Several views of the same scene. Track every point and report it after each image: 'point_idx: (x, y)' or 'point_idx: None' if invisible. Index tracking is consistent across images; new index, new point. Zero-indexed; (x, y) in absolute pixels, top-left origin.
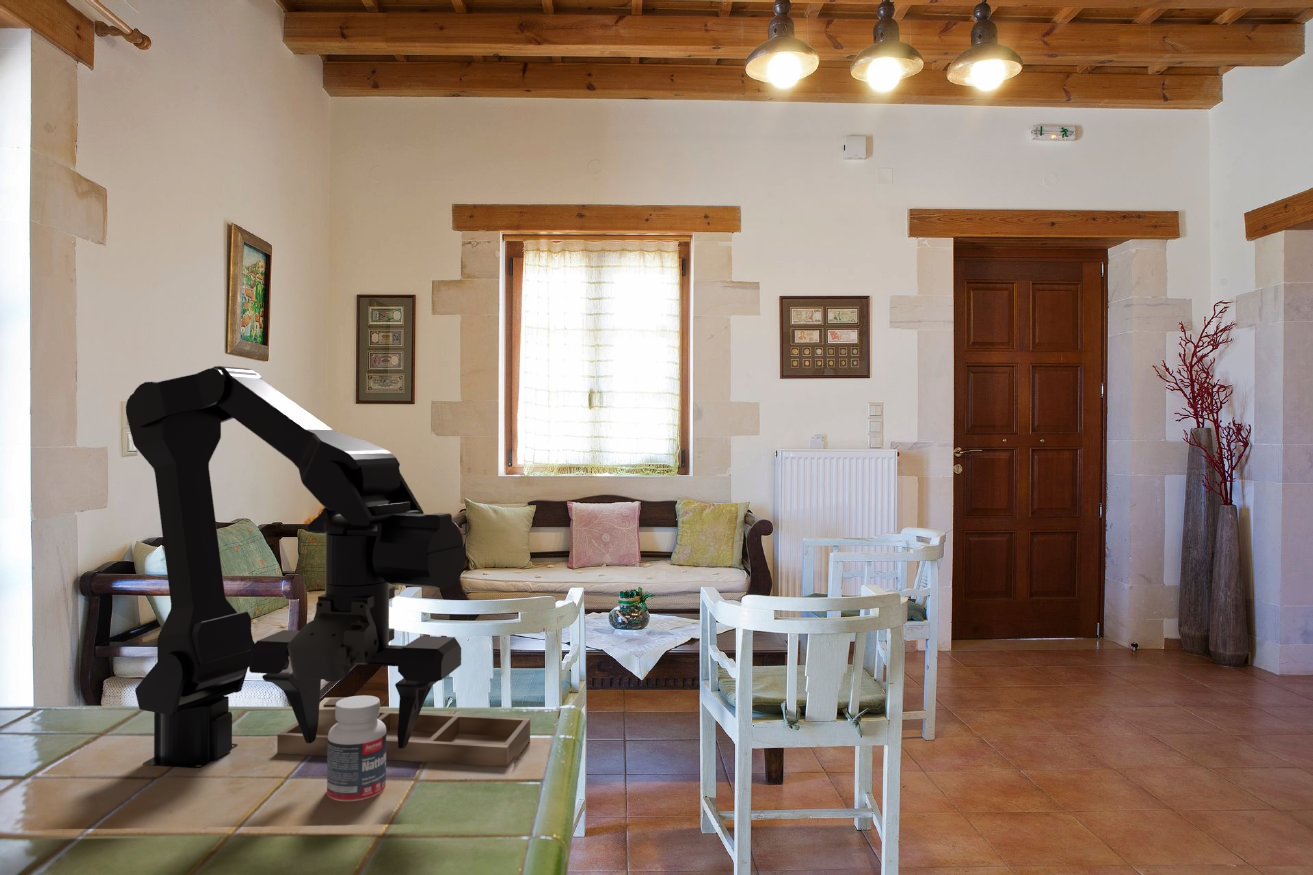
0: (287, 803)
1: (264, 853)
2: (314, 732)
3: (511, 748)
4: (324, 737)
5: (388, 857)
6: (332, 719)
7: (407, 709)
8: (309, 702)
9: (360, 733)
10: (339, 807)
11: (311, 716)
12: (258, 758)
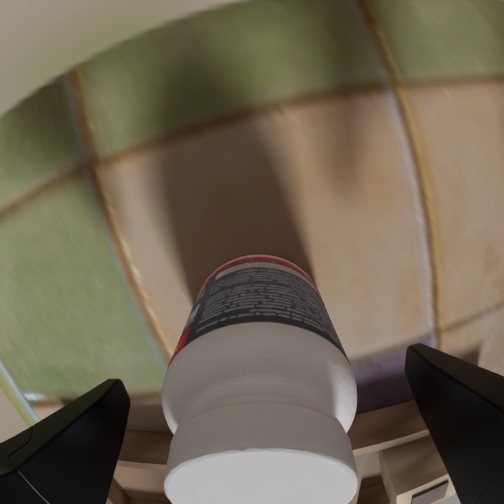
0: (380, 234)
1: (272, 30)
2: (413, 379)
3: None
4: (418, 431)
5: (47, 107)
6: (422, 468)
7: (18, 441)
8: (472, 436)
9: (191, 372)
10: (257, 249)
11: (443, 405)
12: (498, 365)
